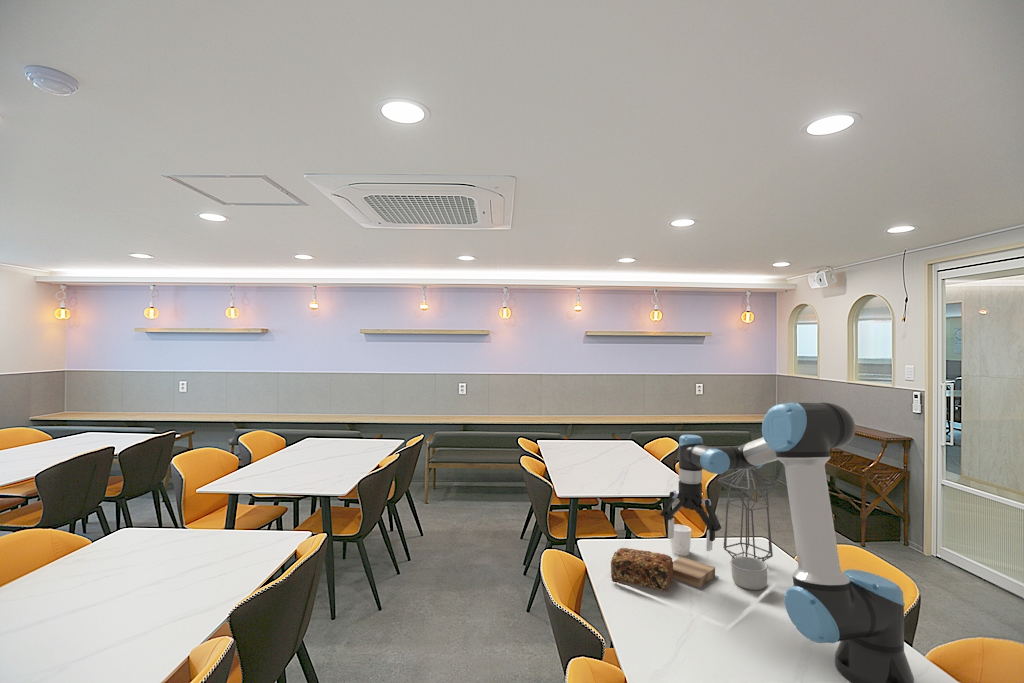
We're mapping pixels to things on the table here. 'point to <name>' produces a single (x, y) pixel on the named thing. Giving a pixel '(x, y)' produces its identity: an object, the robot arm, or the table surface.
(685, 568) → the wooden block
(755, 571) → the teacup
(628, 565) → the bread
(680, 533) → the white cup
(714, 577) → the mat
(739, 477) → the geometric lantern
